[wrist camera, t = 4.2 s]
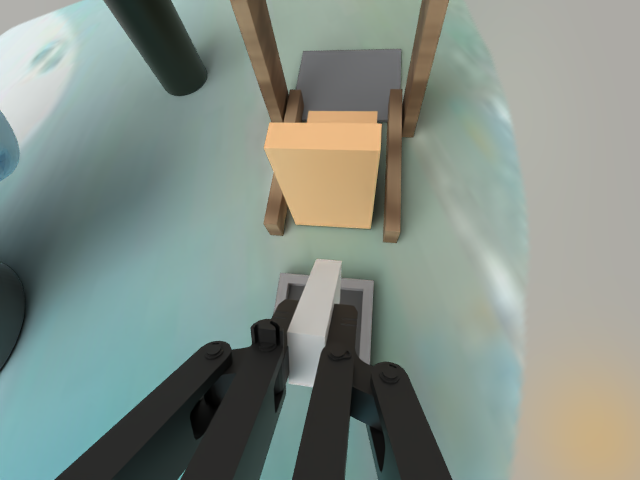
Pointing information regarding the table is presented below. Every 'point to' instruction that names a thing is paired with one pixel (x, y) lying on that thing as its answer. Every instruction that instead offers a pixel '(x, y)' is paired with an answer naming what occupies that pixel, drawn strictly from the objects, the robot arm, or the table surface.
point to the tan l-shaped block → (327, 166)
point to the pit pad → (350, 294)
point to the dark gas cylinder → (161, 42)
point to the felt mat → (349, 80)
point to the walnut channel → (289, 107)
